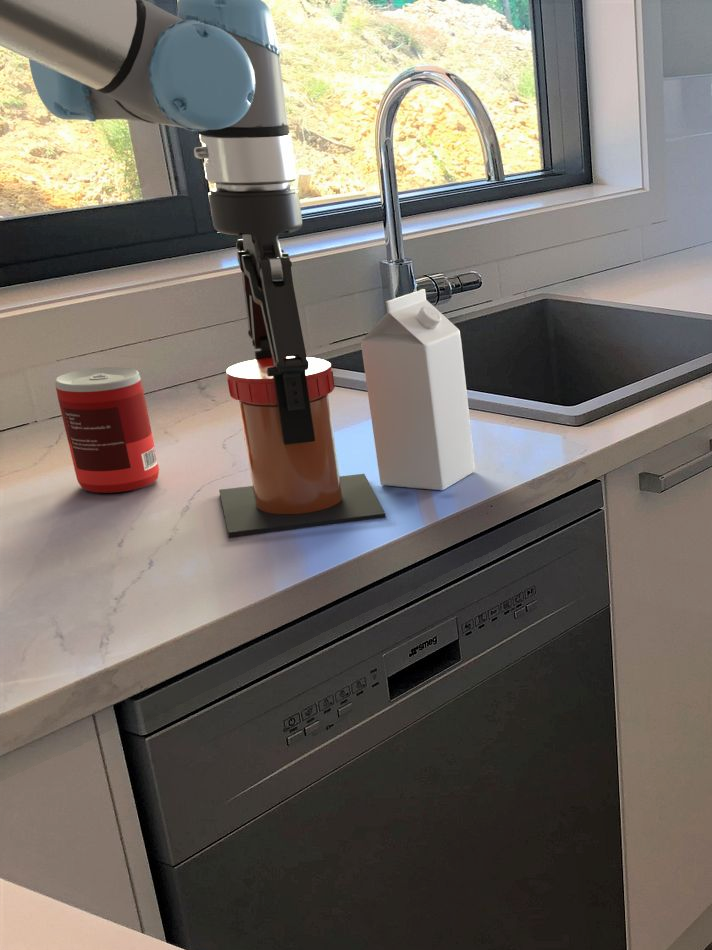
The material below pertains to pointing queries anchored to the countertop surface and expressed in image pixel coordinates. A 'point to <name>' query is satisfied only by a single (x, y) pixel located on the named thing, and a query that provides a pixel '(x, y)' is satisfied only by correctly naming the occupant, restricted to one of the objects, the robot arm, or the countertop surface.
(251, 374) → the jar lid
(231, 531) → the mat
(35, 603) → the countertop surface
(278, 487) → the jar
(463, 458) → the milk carton
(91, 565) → the countertop surface
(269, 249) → the robot arm
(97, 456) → the canned food
